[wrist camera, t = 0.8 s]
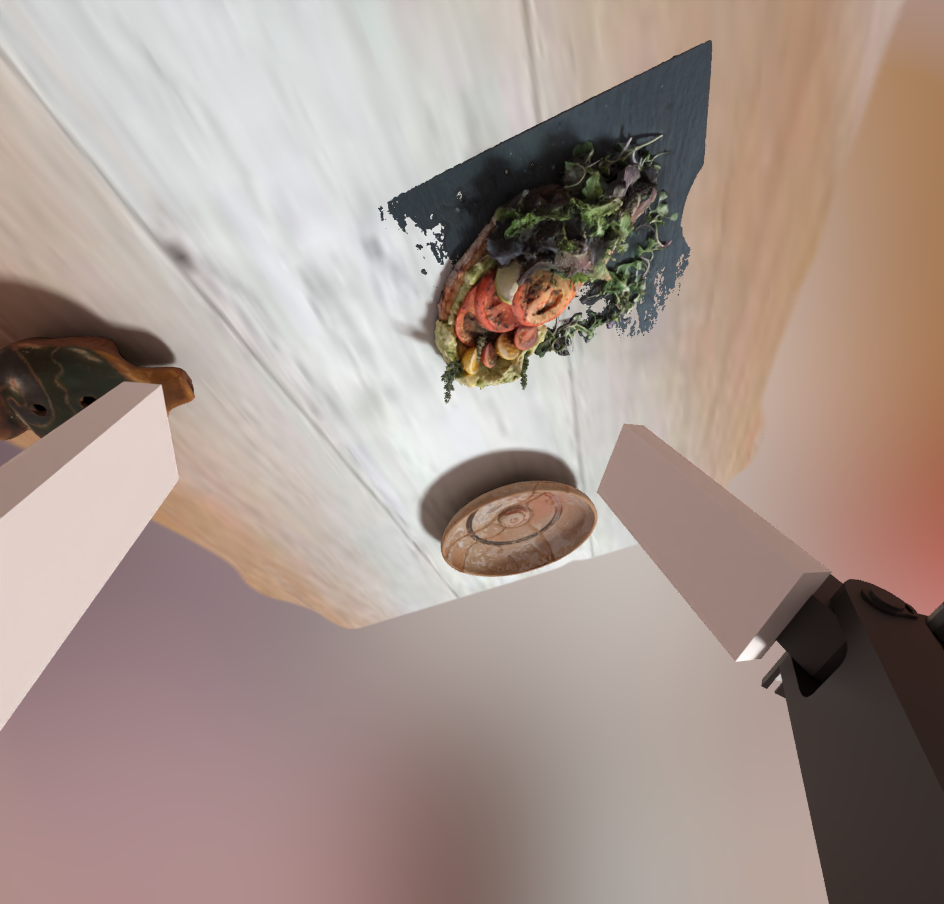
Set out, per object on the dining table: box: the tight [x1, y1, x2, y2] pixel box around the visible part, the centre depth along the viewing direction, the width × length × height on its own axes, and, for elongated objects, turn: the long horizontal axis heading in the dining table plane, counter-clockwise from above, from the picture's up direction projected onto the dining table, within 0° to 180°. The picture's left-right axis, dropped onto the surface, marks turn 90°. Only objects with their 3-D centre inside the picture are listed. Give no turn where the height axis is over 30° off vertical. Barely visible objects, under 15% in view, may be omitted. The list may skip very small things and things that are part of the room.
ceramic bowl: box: [441, 481, 598, 577], centre depth 61 cm, size 23×24×5 cm
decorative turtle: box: [0, 336, 195, 441], centre depth 33 cm, size 10×15×8 cm, turn 90°
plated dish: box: [378, 40, 712, 404], centre depth 35 cm, size 35×28×7 cm
